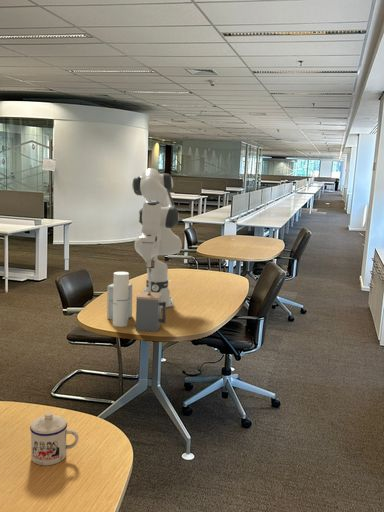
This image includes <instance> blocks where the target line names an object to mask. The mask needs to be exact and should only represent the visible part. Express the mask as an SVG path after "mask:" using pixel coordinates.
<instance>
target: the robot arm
mask: <svg viewBox="0 0 384 512" xmlns="http://www.w3.org/2000/svg"><path fill="white" fill-rule="evenodd" d="M131 186H132V191H133V193H134V194H135V195H136V196H140V197H141V196H142V197H143V198H144V199H145V201H144V202H143V204H142V208H140V210H139V211H138V213H139V214H138V215H139V217H138V218H139V221H138V223H140V225H142V226H141V235H139V236H137V237H136V239H135V240H134V249H135V251H136V253H137V254H139V256H141V258H142V259H143V260H144V261H145V263H146V260H147V267H151V264H152V263H151V260H155V268H151V292H154V293H162V301H161V302H166V308H171V307H174V306H175V305H174V301H173V297H172V296H171V290H170V289H169V280H168V277H169V276H168V274H169V270H168V267H169V266H168V265H167V263H165V262H163V261H162V260H159V259H158V258H159V257H158V256H171V255H176V254H179V253H180V252H181V250H182V247H183V242H182V239H181V238H180V236H178V235H177V234H175V233H174V232H173V230H172V229H173V228H175V227H176V226H177V225H178V224H179V219H180V214H179V211H178V209H177V208H176V205H175V202H174V200H173V196H172V195H171V192H172V191H173V187H174V180H173V177H172V175H170V173H165V172H163V173H159V171H158V170H157V169H156V168H153V167H149V168H146V169H145V170H144V171H143V172H142V174H141V175H138V176H135V177H134V178H133V179H132V184H131ZM146 273H147V276H146V279H145V280H146V281H145V284H146V285H145V288H144V289H142V292H148V282H149V268H146ZM161 309H163V306H161Z"/></svg>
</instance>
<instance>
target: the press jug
mask: <svg viewBox="0 0 384 512" xmlns="http://www.w3.org/2000/svg"><path fill="white" fill-rule="evenodd" d="M161 301H162V293H154V292H151V295H148V292H143V291H140V292H139V294H137V296H136V306H135V308H136V309H135V310H136V311H135V331H137V332H138V331H139V332H142V331H143V332H154V333H158V331H159V329H160V327H161V326H162V325H161V324H166V319H167V318H166V317H167V315H166V314H167V307H166V302H161ZM161 306H163V308H161Z"/></svg>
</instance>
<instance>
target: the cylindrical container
mask: <svg viewBox="0 0 384 512" xmlns="http://www.w3.org/2000/svg"><path fill="white" fill-rule="evenodd" d="M112 284H113V319H112V326H113V327H117V328H120V327H121V328H124V327H127V326H128V324H129V318H128V294H129V284H130V273H129V272H127V271H115V272H113V283H112Z"/></svg>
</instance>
